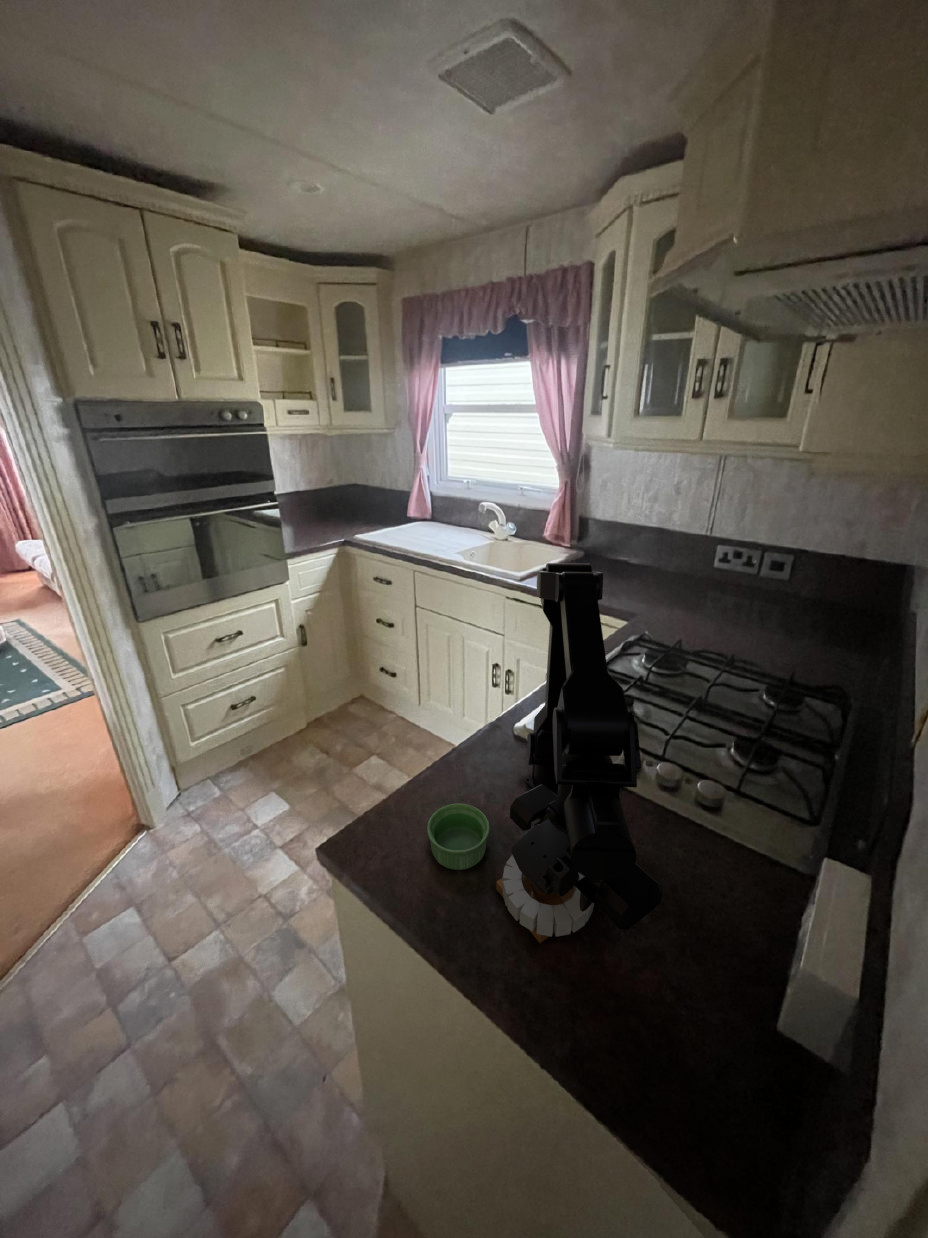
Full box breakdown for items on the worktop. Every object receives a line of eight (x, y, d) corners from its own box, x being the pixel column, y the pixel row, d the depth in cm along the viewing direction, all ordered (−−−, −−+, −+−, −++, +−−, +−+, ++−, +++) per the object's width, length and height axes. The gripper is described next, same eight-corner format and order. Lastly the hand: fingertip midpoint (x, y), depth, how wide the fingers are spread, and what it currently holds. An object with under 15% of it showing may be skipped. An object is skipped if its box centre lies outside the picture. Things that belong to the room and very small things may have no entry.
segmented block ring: (485, 880, 69) (485, 868, 68) (551, 842, 75) (552, 830, 74) (542, 955, 60) (543, 942, 59) (613, 905, 66) (615, 892, 65)
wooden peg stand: (495, 889, 70) (497, 843, 66) (545, 858, 74) (549, 814, 71) (539, 943, 63) (543, 896, 59) (591, 905, 67) (598, 859, 64)
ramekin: (422, 831, 79) (421, 810, 77) (478, 819, 81) (478, 797, 79) (435, 881, 71) (434, 858, 69) (497, 865, 73) (498, 843, 71)
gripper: (474, 779, 59) (475, 875, 65) (596, 901, 45) (581, 1009, 51) (547, 744, 65) (541, 836, 71) (675, 843, 50) (653, 946, 57)
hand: (573, 897), depth 62 cm, fingers open, 3 cm apart
